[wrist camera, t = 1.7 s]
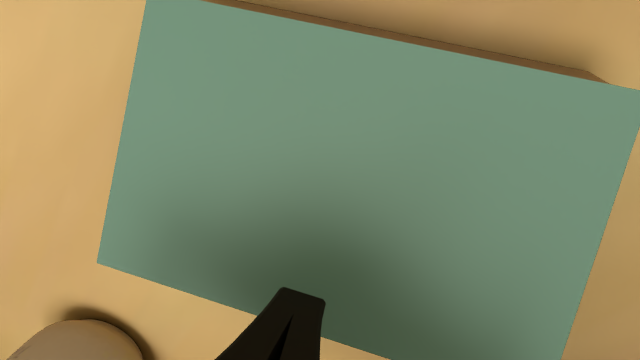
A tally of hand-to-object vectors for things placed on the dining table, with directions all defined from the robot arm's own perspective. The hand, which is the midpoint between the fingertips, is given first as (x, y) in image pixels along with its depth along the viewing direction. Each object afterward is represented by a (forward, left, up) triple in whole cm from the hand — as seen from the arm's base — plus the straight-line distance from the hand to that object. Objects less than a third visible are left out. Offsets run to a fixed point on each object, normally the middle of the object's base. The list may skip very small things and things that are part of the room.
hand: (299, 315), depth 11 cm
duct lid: (0, -2, -4) cm, 4 cm away
